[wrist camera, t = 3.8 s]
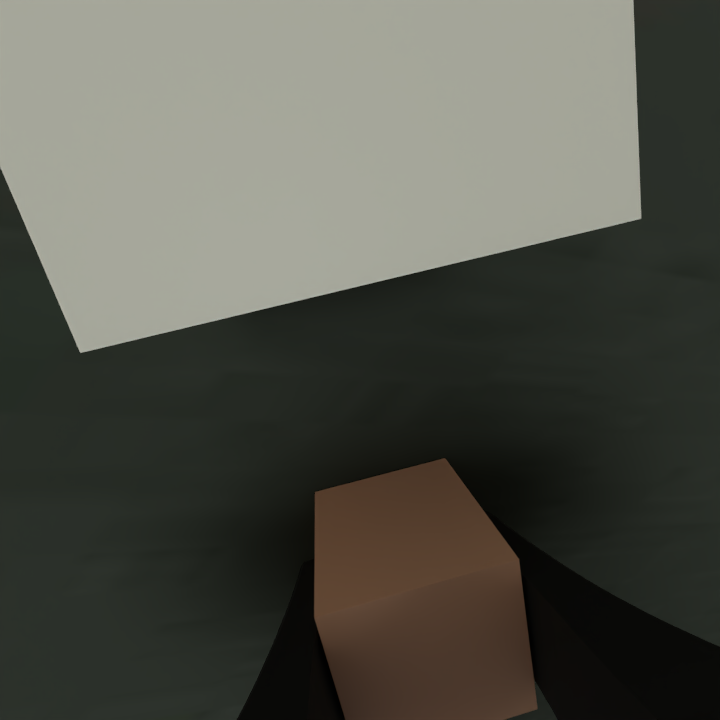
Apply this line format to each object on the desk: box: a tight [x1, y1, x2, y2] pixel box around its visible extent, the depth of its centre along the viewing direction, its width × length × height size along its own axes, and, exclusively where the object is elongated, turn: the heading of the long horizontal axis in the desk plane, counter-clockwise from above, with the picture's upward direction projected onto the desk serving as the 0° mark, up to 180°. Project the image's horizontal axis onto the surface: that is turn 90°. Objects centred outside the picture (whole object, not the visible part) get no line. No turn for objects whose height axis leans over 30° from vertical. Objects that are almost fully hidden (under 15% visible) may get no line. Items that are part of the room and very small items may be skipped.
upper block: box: [0, 0, 641, 353], centre depth 4 cm, size 6×6×3 cm
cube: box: [314, 458, 538, 720], centre depth 9 cm, size 4×4×4 cm
